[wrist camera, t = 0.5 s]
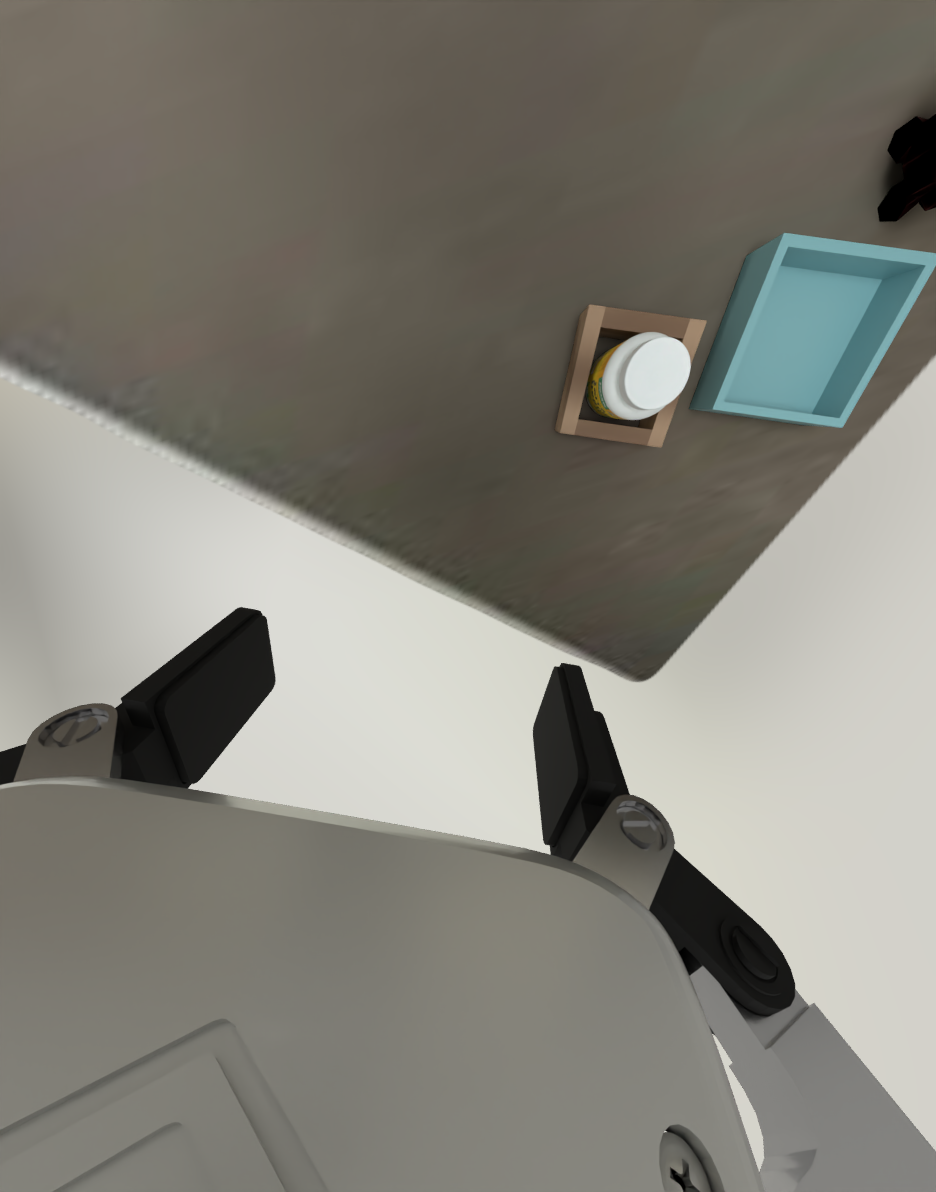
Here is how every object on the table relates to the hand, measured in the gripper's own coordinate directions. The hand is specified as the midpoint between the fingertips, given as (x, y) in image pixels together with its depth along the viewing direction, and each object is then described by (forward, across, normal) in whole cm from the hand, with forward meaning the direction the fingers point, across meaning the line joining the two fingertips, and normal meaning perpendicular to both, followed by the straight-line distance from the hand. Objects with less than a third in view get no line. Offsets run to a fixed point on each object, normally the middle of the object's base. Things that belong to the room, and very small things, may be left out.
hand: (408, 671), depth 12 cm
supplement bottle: (+28, -11, -11) cm, 32 cm away
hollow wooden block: (+28, -11, -11) cm, 32 cm away
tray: (+28, -23, -15) cm, 39 cm away
